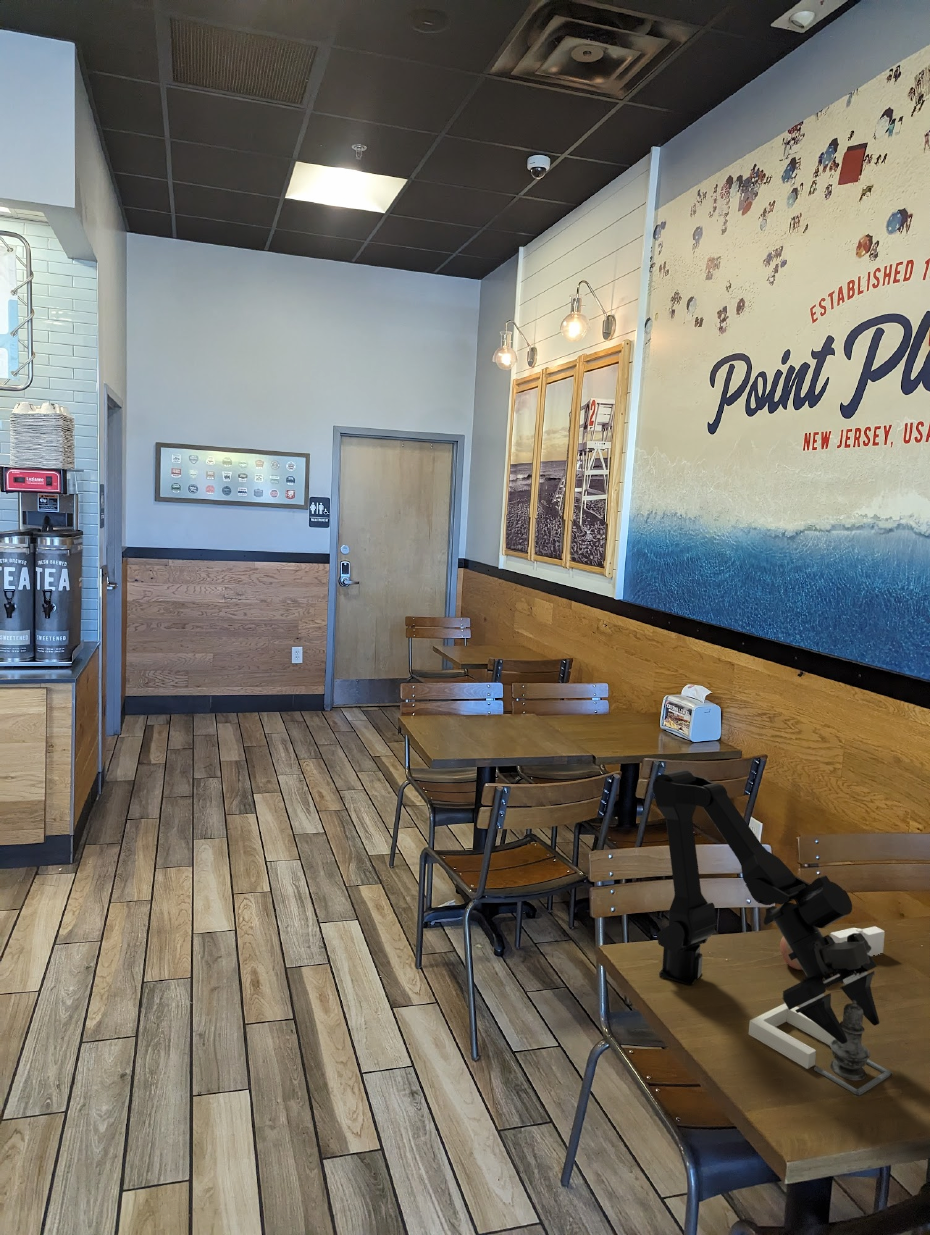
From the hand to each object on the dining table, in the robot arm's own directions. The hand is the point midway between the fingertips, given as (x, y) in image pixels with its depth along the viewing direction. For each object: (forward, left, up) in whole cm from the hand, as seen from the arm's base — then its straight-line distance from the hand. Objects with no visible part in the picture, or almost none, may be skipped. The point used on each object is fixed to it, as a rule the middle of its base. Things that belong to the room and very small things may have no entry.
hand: (861, 1033), depth 137 cm
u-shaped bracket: (-10, +4, -7) cm, 13 cm away
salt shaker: (-1, +1, -7) cm, 7 cm away
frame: (-1, 0, -7) cm, 7 cm away
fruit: (-14, +31, -7) cm, 35 cm away
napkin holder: (-5, +43, -8) cm, 44 cm away
